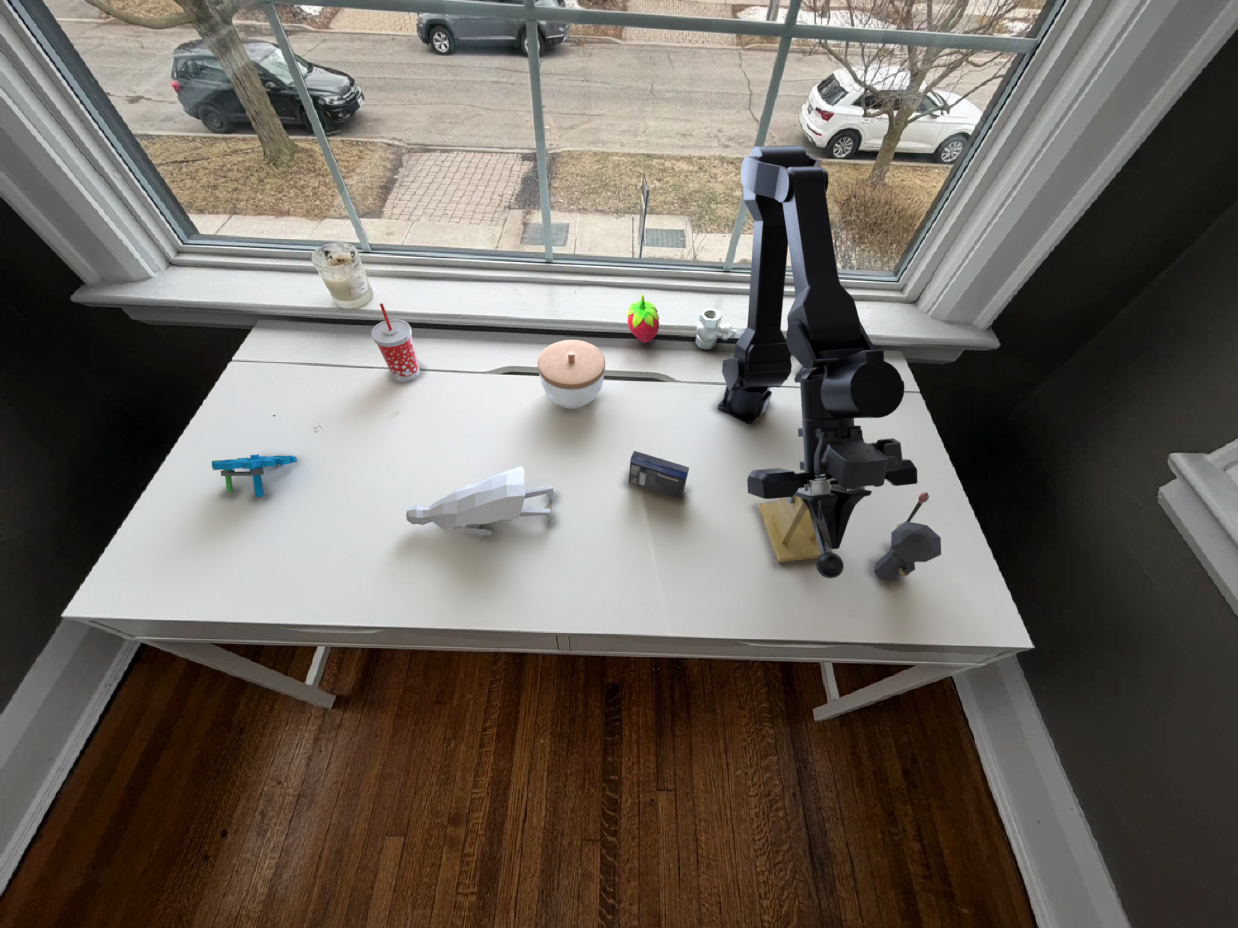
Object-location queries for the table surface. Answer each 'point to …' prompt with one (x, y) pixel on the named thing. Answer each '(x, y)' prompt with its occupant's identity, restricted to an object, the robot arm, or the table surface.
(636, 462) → the mini dv tape
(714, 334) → the valve
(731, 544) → the table surface
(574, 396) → the trinket box
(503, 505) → the superhero figure
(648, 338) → the strawberry
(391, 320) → the beverage cup
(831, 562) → the tap lever
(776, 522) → the bracket
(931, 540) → the wizard figurine
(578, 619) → the table surface
